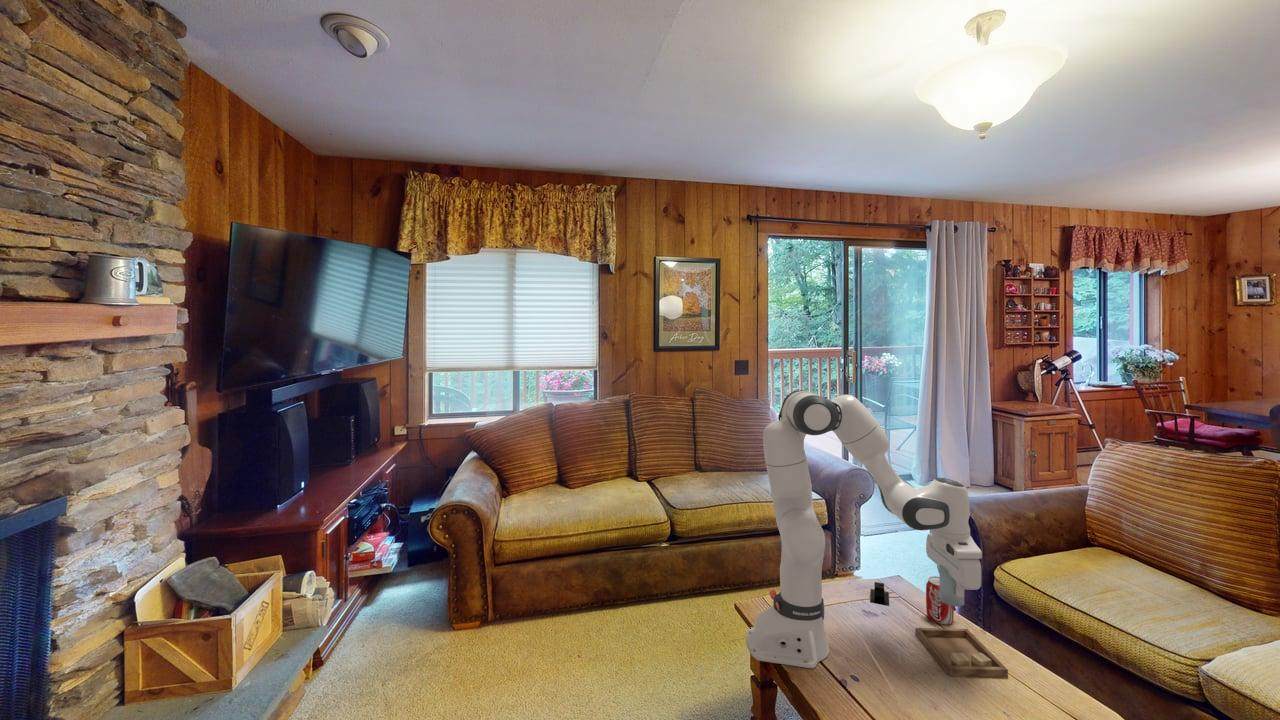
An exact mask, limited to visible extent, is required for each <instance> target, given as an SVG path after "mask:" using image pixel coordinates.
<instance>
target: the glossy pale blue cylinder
mask: <svg viewBox="0 0 1280 720" xmlns="http://www.w3.org/2000/svg"><path fill="white" fill-rule="evenodd" d="M938 577H939V582H940V600H941V601H942V602H943V603H945V604H948V605H951V606H954V607H962V606H965V595H964V596H963V597H958V596H956V595H955V594H954V588H956V586H957V584H956V582H955V580H954V579H953V578H952V577H951V576H949V573H948V571H947V570H945V569H944V568H943V567H942V566H941V565H939V572H938Z"/></svg>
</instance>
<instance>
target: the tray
mask: <svg viewBox="0 0 1280 720" xmlns="http://www.w3.org/2000/svg"><path fill="white" fill-rule="evenodd" d="M915 636H916V637H917V638H918V639H919V641H920V642H921V643H922V644H923V646H924V647H925V649H926V650H927V651H928V652H929V653H930V655H931V657H932V658H934V660H935V661H936V662H937V664H938V665H939V666H940V667H941V668H942V670H943V671H944V673H946V675H947V676H948V677H967V678H968V677H969V678H970V677H971V678H973V677H974V678H975V677H977V678H1009V670H1008V668H1006V666H1005V665H1004V664H1003V663H1002V662H1001V661H1000V660H999V659H998V658H997V657H995V655H994V654H993V653H992V652H990V650H989V649H988V648H987V647H986V646H985V645H984V644H983V643H982V642H981V641H980V640H979V639H978V638H977V637H976V635H974V634H973V633H972V632H971V631H970V630H969V629H968V628H943V627H941V628H940V627H933V628H932V627H915ZM951 653H964V654H965V656H966V657H967V658H968V659H969V660H970V666H952V665H951ZM976 653H982V654H984V655H985V656H986V657H988V658H989V659H991V666H992V667H979V666H971V654H976Z"/></svg>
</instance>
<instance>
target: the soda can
mask: <svg viewBox="0 0 1280 720" xmlns="http://www.w3.org/2000/svg"><path fill="white" fill-rule="evenodd" d="M925 604H926V605H925V609H926V616H927V617H928V619H929V620H931V621H932V622H933V623H937V624H941V625H949V624H952V623H953V622H954V616H955V614H954V613H955V611H954V610H955V606H951V605H948V604H945V603H943V602H942V601H941V600H940V582H939V576H937V575H936V576H929V577H928V579H927V582H926V585H925Z"/></svg>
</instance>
